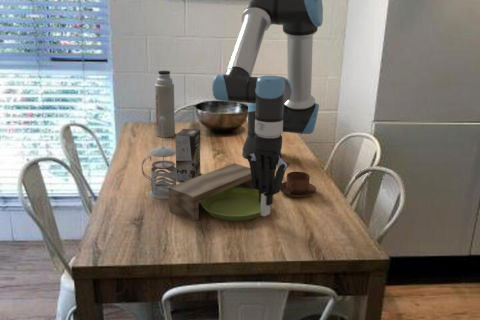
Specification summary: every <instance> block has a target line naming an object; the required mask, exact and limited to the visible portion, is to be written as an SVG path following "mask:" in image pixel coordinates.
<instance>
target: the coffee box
mask: <svg viewBox="0 0 480 320" xmlns="http://www.w3.org/2000/svg"><path fill="white" fill-rule="evenodd" d="M175 151H176V153H175V168H176V181H180V182H181V181H183V182H185V181H188V180H190V179H193V178H196V177H198V176H200V174H201V129H198V128H182V129H181V130H180V131H178V133H175Z"/></svg>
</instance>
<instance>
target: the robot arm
mask: <svg viewBox="0 0 480 320" xmlns="http://www.w3.org/2000/svg"><path fill="white" fill-rule="evenodd" d="M323 5H324V4H323V0H250V1H249V2H248V3H247V5H246V6H245V8H244V10H243V12H242V16H241V22H242V24H241V27H240V28H241V29H240V30H239V33H238V36H237V39H236V42H235V45H234V47H233V50H232V53H231V57H230V59H229V62H228V64H227V67H226V70H225V73H224V74H223V73H221V74H216V75H215V76H214V78H213V80H212V90H211V91H212V96H213V98H214V99H215V100H217V101H220V102H227V103H229V102H230V103H231V102H232V103H244V104H248V106H247V107H248V108H247V131H246V133H247V136H246V138H245V141H244V144H243V147H242V150H241V151H242V153H241V154H242V157H244V158H245V159H246V160H247V161H248V163H249V168H250V170H251V176H252V182H253V188H254V189H257V190H258V192H259V203H261V210H260V215H259V216H261V217H267V216H268V215H270V214H271V206H272V205H273V201H274V195H276V194H279V193H280V192H281V191H280V188H281V184H282V183H283V180H284V177H285V173H286V170H287V169H288V168H289V166H290V164H289V162H287V161H286V162H285V160H283V158H282V157H283V156H282V148H283V136H282V134H283V133H294V134H300V135H312V133H314V131H315V129H316V123H317V119H318V118H317V117H318V114H319V109H320V104H319V103H317V102H316V99H315V96H314V95H312V78H313V76H312V75H313V73H312V72H313V71H312V70H313V43H314V42H313V41H314V40H313V38H314V35H315V34H316V33H317V32H318V28H320V27H321V26H322V25H323V20H324V19H323V18H324V17H323V16H324V15H323V14H324V9H323V8H324V7H323ZM271 25H277V26H278V25H279V26H280V25H281V26H282V32H283V33H284V34H285V35H286V36H287V39H286V40H287V41H286V42H287V43H286V45H287V46H286V47H287V49H286V50H287V59H286V60H287V62H286V63H287V64H286V65H287V66H286V68H287V73H286V74H287V75H286V76H287V77H284V76H282V75H281V76H278V75H263V76H262V75H261V76H252V74H253V72H254V69H255V65H256V61H257V58H258V55H259V52H260V48H261V45H262V43H263V40H264V36H265V34H266V31H268V30H269V28H270V27H271Z"/></svg>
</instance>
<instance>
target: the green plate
mask: <svg viewBox="0 0 480 320" xmlns="http://www.w3.org/2000/svg"><path fill="white" fill-rule="evenodd" d="M199 204H200V205H201V207H202V208H203V210H204V211H205V212H207V214H208V215H210V216H212V217H213V218H215V219H219V220H222V221H226V222H245V221H246V222H247V221H250V220H254V219H256V218H257V217H259V216H261V215H260V210H261V203H259V192H258V191H257V190H254V189H249V188H243V187H232V188H229V189H227V190H224V191H222V192H220V193H217V194H215V195H213V196H210V197H208V198H205V199H203V200H201V201H199Z"/></svg>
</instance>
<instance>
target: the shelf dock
mask: <svg viewBox="0 0 480 320" xmlns="http://www.w3.org/2000/svg"><path fill="white" fill-rule="evenodd" d="M232 187H243V188H249V189H254V188H253V182H252V176H251V170H250V166H249V167H248V166H244V165H241V164H239V163H235V162H234V163H231V164H229V165H226V166H222V167H221V168H218V169H215V170H212V171H209V172H207V173H204V174H201V175H198V177H196V178H193V179H190V180H188V181H183V182H180V183H178V184H177V183H176V185H174V186H171V187H169V200H168V204H169V205H168V206H169V207H168V208H169V209H168V210H169V212H170V213H173V214H175V215H178V216H180V217H181V218H184V219H187V220H189V221H191V222H195V221H198V220H199V219H200V217H199V213H200V211H199V210H200V209H199V208H200V207H199V204H200V201H201V200H203V199H205V198H208V197H210V196H213V195H215V194H217V193H220V192H222V191H224V190H227V189H229V188H232ZM254 190H257V189H254ZM257 191H258V190H257Z"/></svg>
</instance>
